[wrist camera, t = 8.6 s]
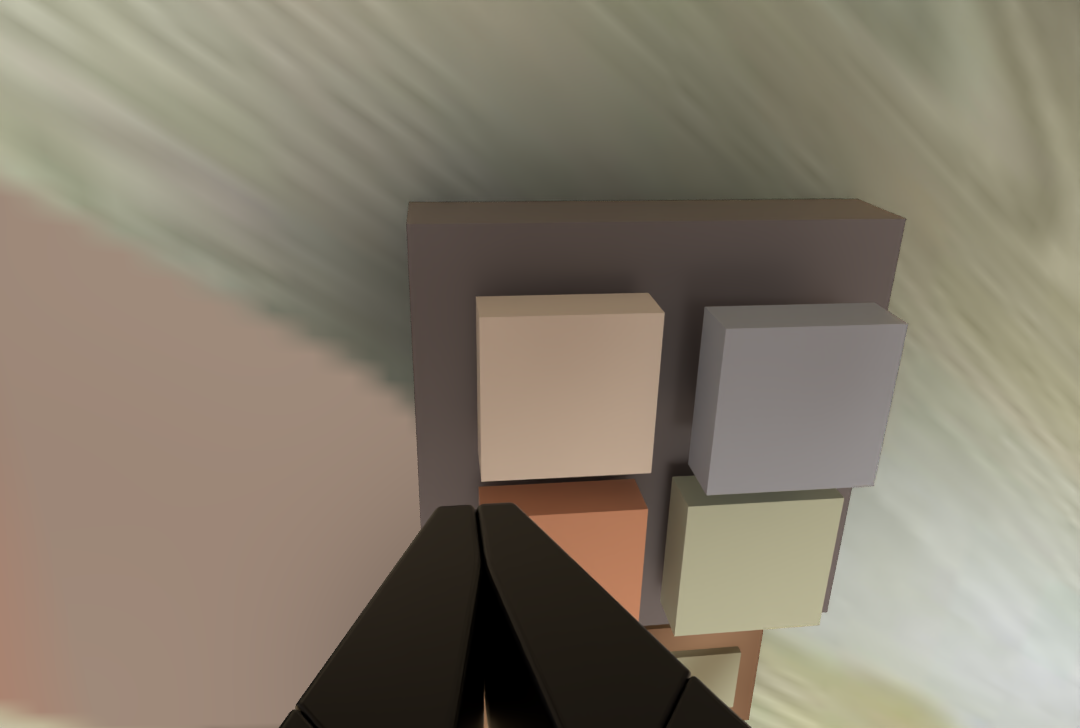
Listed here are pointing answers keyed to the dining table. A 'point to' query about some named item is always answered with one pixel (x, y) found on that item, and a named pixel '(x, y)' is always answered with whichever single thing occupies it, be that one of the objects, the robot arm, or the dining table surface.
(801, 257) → the keypad board
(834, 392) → the slate-blue key
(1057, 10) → the dining table surface
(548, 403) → the cream key
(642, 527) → the rust key
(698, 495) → the sage key
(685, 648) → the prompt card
